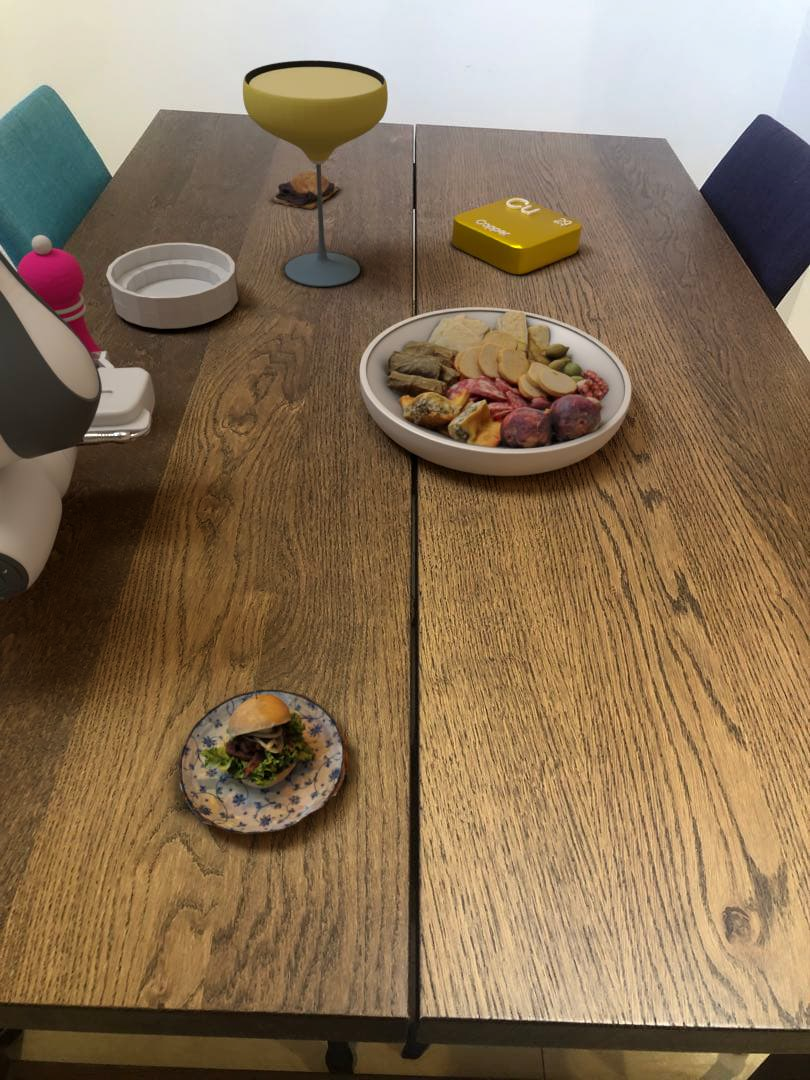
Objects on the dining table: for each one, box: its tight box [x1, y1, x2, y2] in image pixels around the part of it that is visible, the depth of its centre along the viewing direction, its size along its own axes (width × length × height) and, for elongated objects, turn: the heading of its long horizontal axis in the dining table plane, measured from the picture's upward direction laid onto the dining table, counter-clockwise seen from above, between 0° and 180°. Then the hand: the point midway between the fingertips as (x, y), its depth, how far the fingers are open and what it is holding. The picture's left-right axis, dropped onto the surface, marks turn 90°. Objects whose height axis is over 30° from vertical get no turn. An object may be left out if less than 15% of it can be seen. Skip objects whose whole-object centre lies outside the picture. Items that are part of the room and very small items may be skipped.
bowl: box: [359, 306, 632, 477], centre depth 91 cm, size 30×30×8 cm
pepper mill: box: [16, 234, 102, 355], centre depth 84 cm, size 7×7×20 cm
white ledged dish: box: [105, 242, 239, 330], centre depth 108 cm, size 16×16×5 cm
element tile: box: [451, 195, 583, 276], centre depth 125 cm, size 15×15×5 cm
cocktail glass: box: [242, 59, 389, 288], centre depth 110 cm, size 18×18×25 cm
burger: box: [178, 676, 349, 835], centre depth 57 cm, size 12×12×8 cm
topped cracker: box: [272, 170, 339, 210], centre depth 138 cm, size 11×8×4 cm
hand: (50, 359), depth 78 cm, fingers open, 8 cm apart
